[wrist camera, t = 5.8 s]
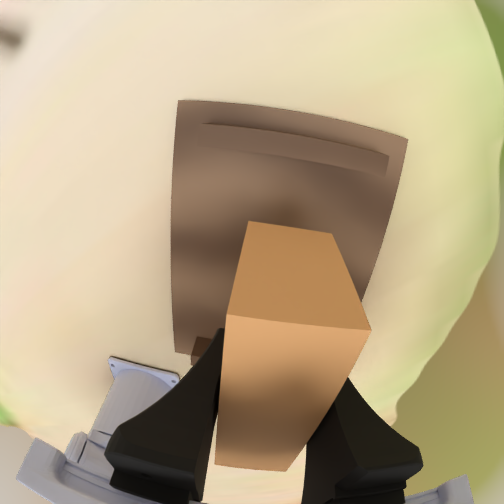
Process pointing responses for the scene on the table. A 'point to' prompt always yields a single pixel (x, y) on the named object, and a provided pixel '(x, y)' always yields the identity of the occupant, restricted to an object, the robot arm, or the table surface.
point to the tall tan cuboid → (284, 345)
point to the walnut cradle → (268, 198)
